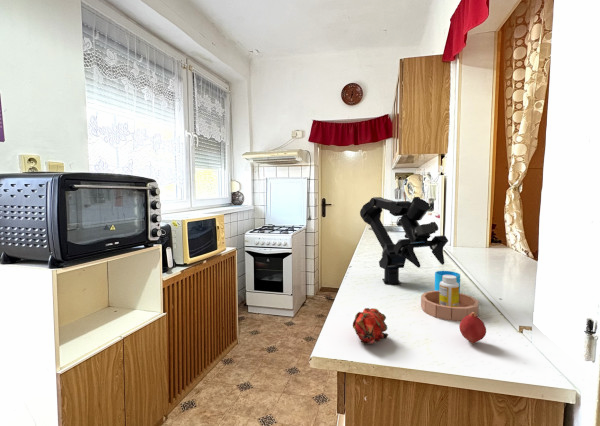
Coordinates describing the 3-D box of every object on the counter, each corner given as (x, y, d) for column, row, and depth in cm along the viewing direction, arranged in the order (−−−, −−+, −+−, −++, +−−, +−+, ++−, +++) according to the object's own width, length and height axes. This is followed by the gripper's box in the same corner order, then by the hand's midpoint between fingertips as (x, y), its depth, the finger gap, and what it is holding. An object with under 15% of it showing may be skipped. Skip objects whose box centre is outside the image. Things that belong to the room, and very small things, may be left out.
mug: (460, 301, 109) (461, 277, 108) (434, 298, 112) (434, 275, 111) (458, 290, 120) (458, 269, 119) (434, 288, 123) (435, 267, 122)
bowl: (415, 301, 109) (416, 290, 109) (464, 302, 107) (465, 290, 107) (430, 320, 93) (430, 307, 93) (488, 322, 92) (488, 308, 91)
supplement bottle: (458, 306, 102) (459, 275, 101) (458, 312, 97) (459, 279, 96) (439, 303, 104) (440, 273, 103) (438, 309, 99) (439, 277, 98)
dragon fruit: (374, 334, 88) (371, 363, 77) (349, 315, 89) (342, 341, 78) (393, 314, 85) (392, 340, 74) (367, 294, 86) (362, 318, 75)
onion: (454, 338, 82) (455, 308, 82) (475, 337, 83) (476, 307, 82) (468, 349, 76) (468, 317, 76) (490, 348, 77) (491, 316, 76)
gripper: (397, 216, 108) (417, 255, 99) (444, 212, 113) (468, 249, 103) (386, 235, 117) (403, 273, 107) (430, 231, 121) (450, 267, 112)
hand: (431, 265), depth 107 cm, fingers open, 9 cm apart
